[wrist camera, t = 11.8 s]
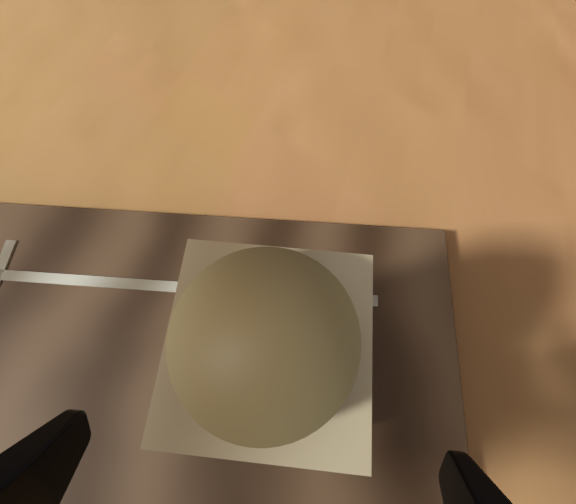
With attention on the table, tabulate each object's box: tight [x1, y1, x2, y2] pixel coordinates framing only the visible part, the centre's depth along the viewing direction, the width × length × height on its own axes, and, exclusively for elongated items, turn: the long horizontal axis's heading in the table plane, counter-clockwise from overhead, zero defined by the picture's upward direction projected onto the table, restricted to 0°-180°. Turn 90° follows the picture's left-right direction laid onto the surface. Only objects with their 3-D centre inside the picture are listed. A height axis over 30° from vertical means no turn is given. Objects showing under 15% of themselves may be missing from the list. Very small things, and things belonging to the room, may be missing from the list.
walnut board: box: [0, 203, 469, 504], centre depth 17 cm, size 34×16×1 cm, turn 86°
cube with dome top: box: [140, 239, 373, 477], centre depth 11 cm, size 8×5×12 cm, turn 84°
